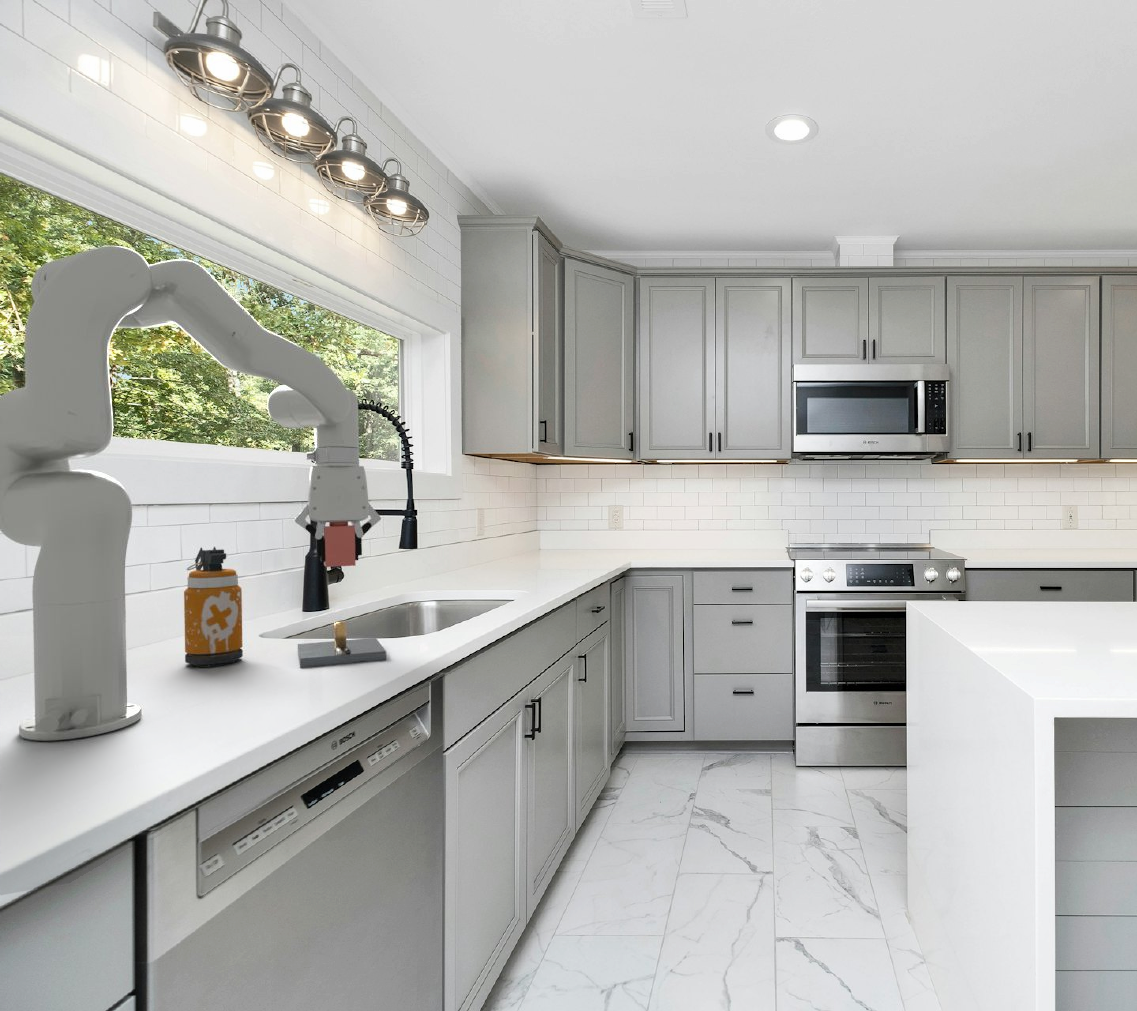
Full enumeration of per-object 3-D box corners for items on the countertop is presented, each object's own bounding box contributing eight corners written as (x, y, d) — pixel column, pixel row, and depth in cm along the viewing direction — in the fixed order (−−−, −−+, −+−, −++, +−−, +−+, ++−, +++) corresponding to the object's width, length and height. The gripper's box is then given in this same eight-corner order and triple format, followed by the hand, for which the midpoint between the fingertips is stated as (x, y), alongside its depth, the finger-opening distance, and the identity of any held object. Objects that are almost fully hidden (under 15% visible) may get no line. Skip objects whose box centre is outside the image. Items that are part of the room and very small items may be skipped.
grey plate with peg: (386, 660, 126) (385, 625, 126) (300, 668, 121) (299, 632, 121) (375, 645, 140) (375, 614, 140) (297, 652, 135) (297, 619, 134)
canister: (193, 671, 120) (191, 549, 120) (176, 660, 129) (174, 547, 129) (249, 662, 126) (247, 546, 126) (229, 653, 135) (228, 544, 134)
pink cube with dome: (355, 565, 129) (354, 519, 129) (325, 567, 127) (324, 520, 127) (352, 563, 134) (351, 518, 134) (324, 564, 132) (323, 519, 132)
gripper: (286, 457, 124) (288, 564, 124) (388, 457, 130) (391, 559, 130) (285, 460, 131) (288, 561, 131) (383, 460, 137) (385, 557, 137)
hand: (339, 559), depth 131 cm, fingers closed on pink cube with dome, 4 cm apart
